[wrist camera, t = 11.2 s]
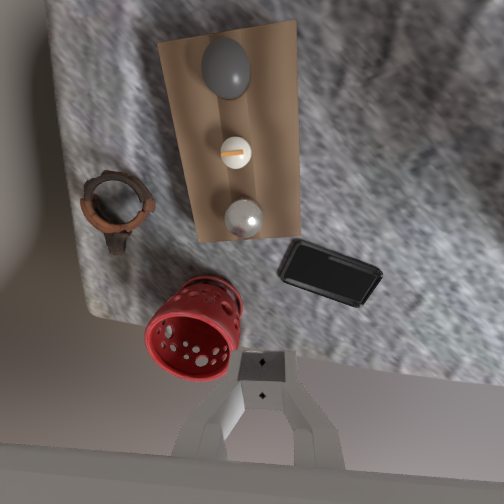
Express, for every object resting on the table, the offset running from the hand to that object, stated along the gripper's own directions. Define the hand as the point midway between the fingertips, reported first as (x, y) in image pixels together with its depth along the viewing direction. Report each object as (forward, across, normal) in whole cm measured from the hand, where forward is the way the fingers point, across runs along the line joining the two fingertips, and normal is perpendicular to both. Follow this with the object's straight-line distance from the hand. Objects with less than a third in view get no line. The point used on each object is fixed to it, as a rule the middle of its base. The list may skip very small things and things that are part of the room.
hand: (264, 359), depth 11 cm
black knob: (+27, +4, -16) cm, 31 cm away
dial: (+22, +4, -8) cm, 24 cm away
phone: (+28, -8, +11) cm, 31 cm away
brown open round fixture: (+27, +23, -2) cm, 35 cm away
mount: (+27, +4, -8) cm, 29 cm away
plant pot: (+27, +12, +16) cm, 34 cm away
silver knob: (+26, +4, -1) cm, 27 cm away
